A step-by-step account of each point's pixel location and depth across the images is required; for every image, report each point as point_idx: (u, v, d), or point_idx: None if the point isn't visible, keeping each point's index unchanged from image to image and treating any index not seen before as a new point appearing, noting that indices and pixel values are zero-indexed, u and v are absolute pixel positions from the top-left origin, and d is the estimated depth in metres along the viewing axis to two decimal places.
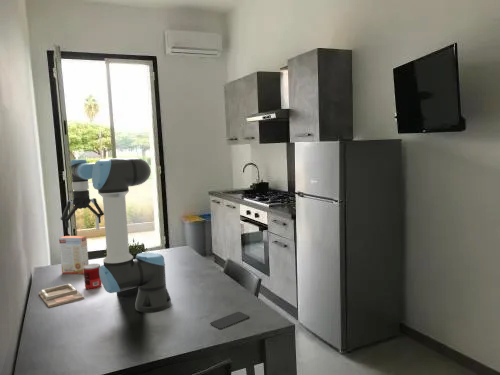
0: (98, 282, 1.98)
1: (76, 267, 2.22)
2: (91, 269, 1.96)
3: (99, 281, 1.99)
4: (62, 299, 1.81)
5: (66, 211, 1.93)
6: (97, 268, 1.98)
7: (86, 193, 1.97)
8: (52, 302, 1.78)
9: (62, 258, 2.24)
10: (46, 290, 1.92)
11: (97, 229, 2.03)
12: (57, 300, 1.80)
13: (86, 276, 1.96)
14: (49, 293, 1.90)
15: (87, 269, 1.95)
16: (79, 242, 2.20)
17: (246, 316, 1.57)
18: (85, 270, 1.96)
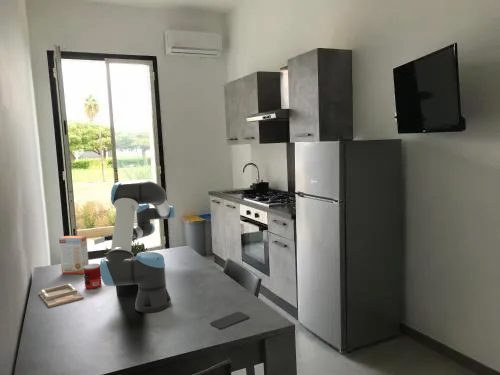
0: (98, 282, 1.98)
1: (76, 267, 2.22)
2: (91, 269, 1.96)
3: (99, 281, 1.99)
4: (62, 299, 1.81)
5: None
6: (97, 268, 1.98)
7: (132, 229, 2.23)
8: (52, 302, 1.78)
9: (62, 258, 2.24)
10: (46, 290, 1.92)
11: None
12: (57, 300, 1.80)
13: (86, 276, 1.96)
14: (49, 293, 1.90)
15: (87, 269, 1.95)
16: (79, 242, 2.20)
17: (246, 316, 1.57)
18: (85, 270, 1.96)
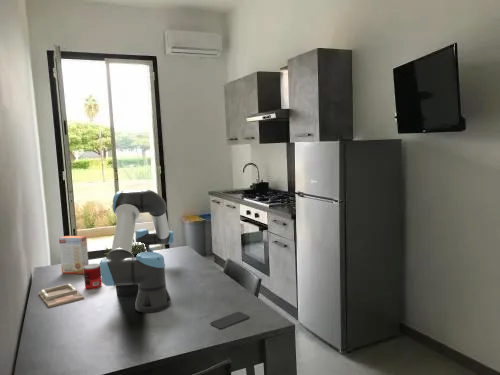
0: (98, 282, 1.98)
1: (76, 267, 2.22)
2: (91, 269, 1.96)
3: (99, 281, 1.99)
4: (62, 299, 1.81)
5: None
6: (97, 268, 1.98)
7: None
8: (52, 302, 1.78)
9: (62, 258, 2.24)
10: (46, 290, 1.92)
11: None
12: (57, 300, 1.80)
13: (86, 276, 1.96)
14: (49, 293, 1.90)
15: (87, 269, 1.95)
16: (79, 242, 2.20)
17: (246, 316, 1.57)
18: (85, 270, 1.96)
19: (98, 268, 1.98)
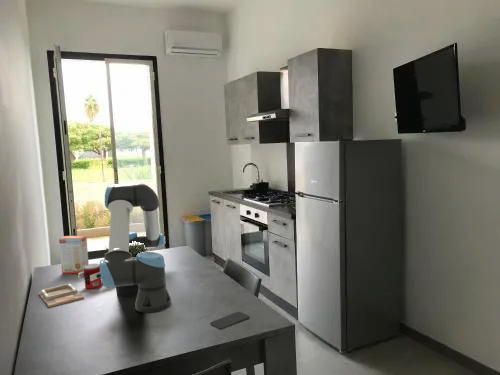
0: (98, 282, 1.98)
1: (76, 267, 2.22)
2: (91, 269, 1.96)
3: (99, 281, 1.99)
4: (62, 299, 1.81)
5: None
6: (97, 268, 1.98)
7: None
8: (52, 302, 1.78)
9: (62, 258, 2.24)
10: (46, 290, 1.92)
11: (90, 276, 1.94)
12: (57, 300, 1.80)
13: (86, 276, 1.96)
14: (49, 293, 1.90)
15: (87, 269, 1.95)
16: (79, 242, 2.20)
17: (246, 316, 1.57)
18: (85, 270, 1.96)
19: (98, 268, 1.98)
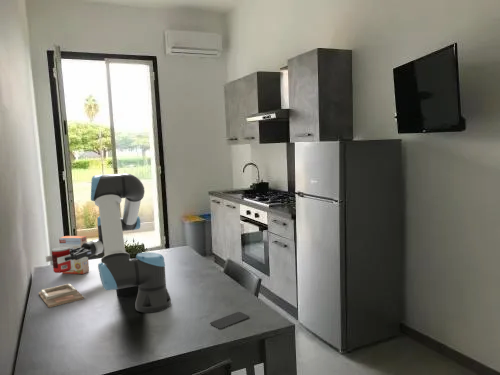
0: (67, 265, 1.89)
1: (76, 267, 2.22)
2: (59, 251, 1.87)
3: (68, 264, 1.90)
4: (62, 299, 1.81)
5: None
6: (66, 251, 1.89)
7: (90, 243, 2.04)
8: (52, 302, 1.78)
9: None
10: (46, 290, 1.92)
11: None
12: (57, 300, 1.80)
13: (54, 259, 1.87)
14: (49, 293, 1.90)
15: (55, 251, 1.87)
16: (79, 242, 2.20)
17: (246, 316, 1.57)
18: (53, 252, 1.87)
19: (67, 251, 1.89)
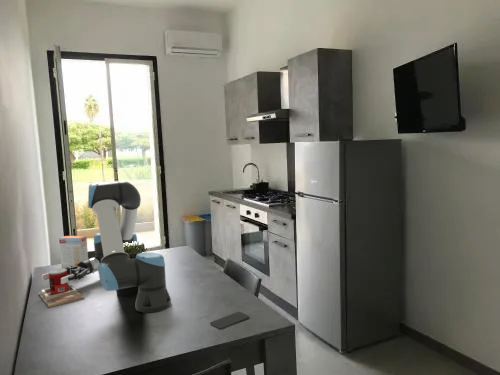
0: (64, 288, 1.88)
1: None
2: (56, 274, 1.86)
3: (65, 287, 1.89)
4: (62, 299, 1.81)
5: None
6: (63, 273, 1.88)
7: (87, 261, 2.03)
8: (52, 302, 1.78)
9: (62, 258, 2.24)
10: (46, 290, 1.92)
11: (61, 279, 1.84)
12: (57, 300, 1.80)
13: (51, 281, 1.86)
14: (49, 293, 1.90)
15: (52, 274, 1.86)
16: (79, 242, 2.20)
17: (246, 316, 1.57)
18: (50, 275, 1.86)
19: (64, 273, 1.88)
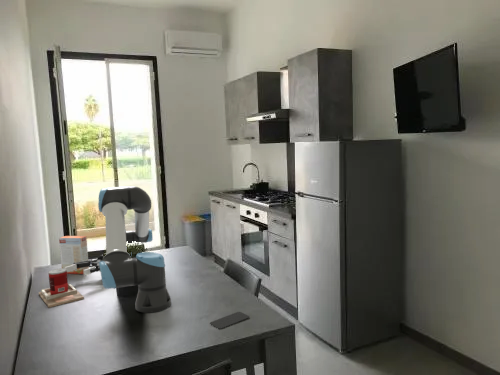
0: (64, 288, 1.88)
1: None
2: (56, 274, 1.86)
3: (65, 287, 1.89)
4: (62, 299, 1.81)
5: (82, 261, 2.12)
6: (63, 273, 1.88)
7: None
8: (52, 302, 1.78)
9: (62, 258, 2.24)
10: (46, 290, 1.92)
11: (84, 271, 1.95)
12: (57, 300, 1.80)
13: (51, 281, 1.86)
14: (49, 293, 1.90)
15: (52, 274, 1.86)
16: (79, 242, 2.20)
17: (246, 316, 1.57)
18: (50, 275, 1.86)
19: (64, 273, 1.88)
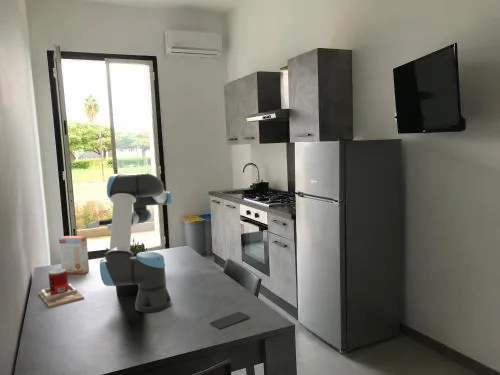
0: (64, 288, 1.88)
1: (76, 267, 2.22)
2: (56, 274, 1.86)
3: (65, 287, 1.89)
4: (62, 299, 1.81)
5: None
6: (63, 273, 1.88)
7: None
8: (52, 302, 1.78)
9: (62, 258, 2.24)
10: (46, 290, 1.92)
11: None
12: (57, 300, 1.80)
13: (51, 282, 1.86)
14: (49, 293, 1.90)
15: (52, 274, 1.86)
16: (79, 242, 2.20)
17: (246, 316, 1.57)
18: (50, 275, 1.86)
19: (64, 273, 1.88)
